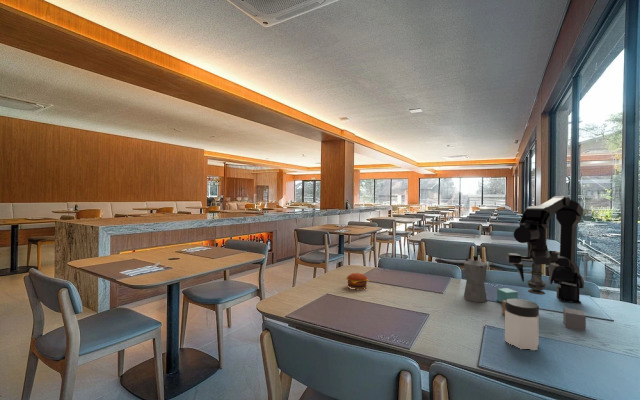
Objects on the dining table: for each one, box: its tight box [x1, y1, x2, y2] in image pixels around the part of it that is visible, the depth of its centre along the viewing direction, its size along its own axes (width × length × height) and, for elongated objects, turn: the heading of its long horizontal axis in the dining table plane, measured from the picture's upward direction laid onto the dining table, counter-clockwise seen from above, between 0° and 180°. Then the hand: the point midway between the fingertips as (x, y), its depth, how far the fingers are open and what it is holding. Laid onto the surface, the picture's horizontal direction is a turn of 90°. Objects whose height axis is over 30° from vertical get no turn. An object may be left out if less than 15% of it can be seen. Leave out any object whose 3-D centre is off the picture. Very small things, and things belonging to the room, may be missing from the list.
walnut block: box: [501, 300, 506, 316], centre depth 108 cm, size 5×5×5 cm
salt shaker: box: [526, 262, 547, 296], centre depth 112 cm, size 6×6×12 cm
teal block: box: [496, 287, 519, 304], centre depth 122 cm, size 5×5×5 cm
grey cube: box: [562, 307, 587, 332], centre depth 100 cm, size 5×5×5 cm
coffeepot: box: [463, 255, 488, 303], centre depth 128 cm, size 15×9×18 cm, turn 176°
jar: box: [504, 298, 540, 351], centre depth 88 cm, size 9×8×12 cm
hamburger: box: [344, 272, 370, 290], centre depth 143 cm, size 9×10×7 cm
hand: (536, 282), depth 112 cm, fingers closed on salt shaker, 8 cm apart
